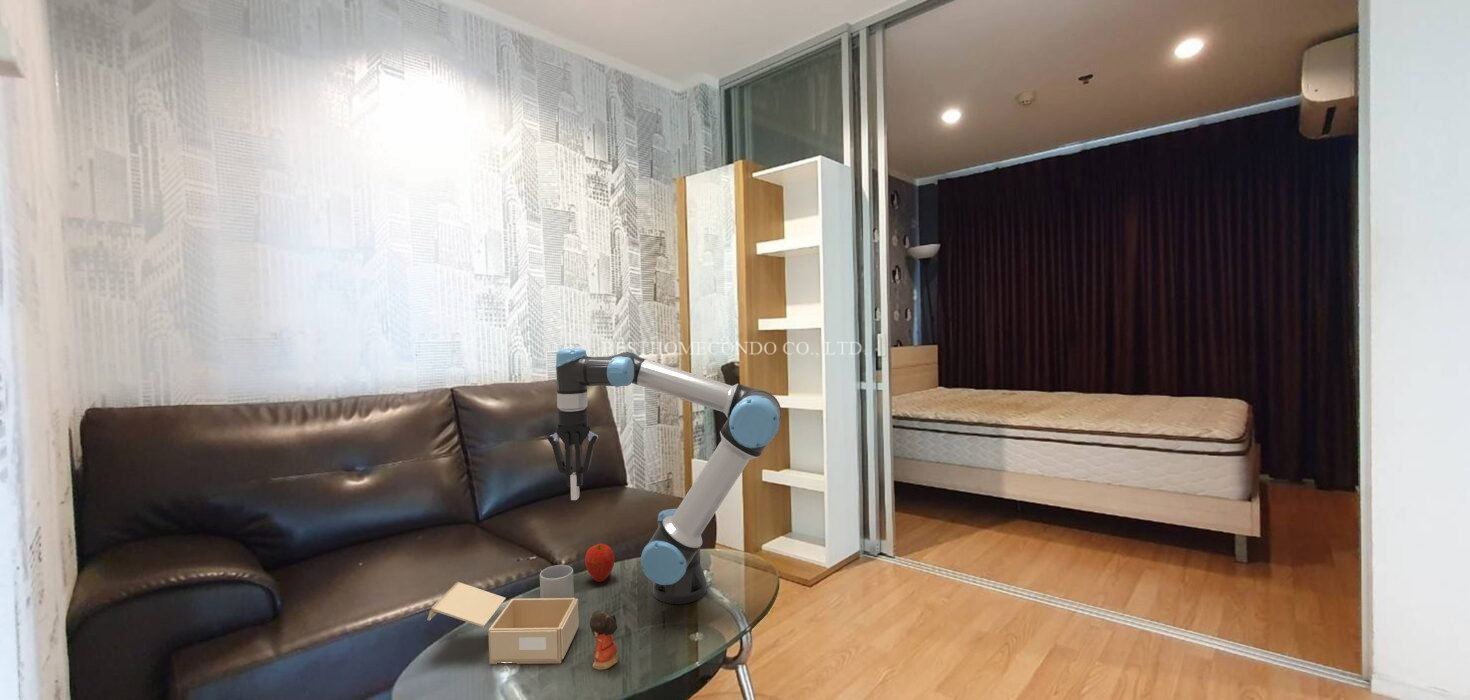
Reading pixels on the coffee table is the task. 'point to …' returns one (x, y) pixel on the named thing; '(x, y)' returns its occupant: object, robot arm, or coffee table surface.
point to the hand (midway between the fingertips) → (575, 498)
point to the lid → (467, 604)
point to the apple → (599, 561)
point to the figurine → (604, 639)
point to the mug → (557, 582)
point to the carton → (533, 631)
